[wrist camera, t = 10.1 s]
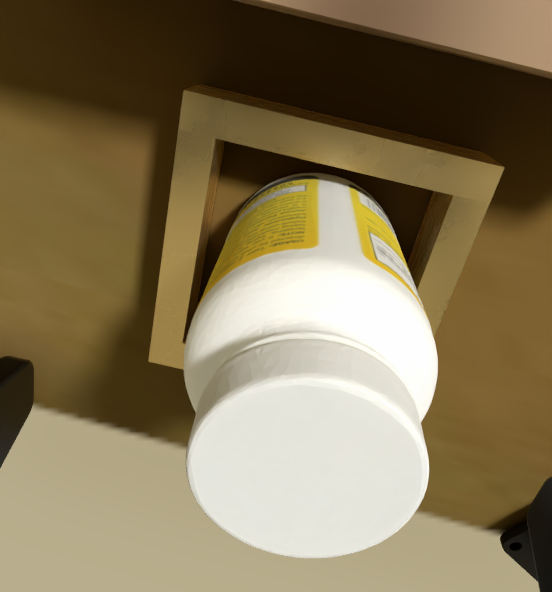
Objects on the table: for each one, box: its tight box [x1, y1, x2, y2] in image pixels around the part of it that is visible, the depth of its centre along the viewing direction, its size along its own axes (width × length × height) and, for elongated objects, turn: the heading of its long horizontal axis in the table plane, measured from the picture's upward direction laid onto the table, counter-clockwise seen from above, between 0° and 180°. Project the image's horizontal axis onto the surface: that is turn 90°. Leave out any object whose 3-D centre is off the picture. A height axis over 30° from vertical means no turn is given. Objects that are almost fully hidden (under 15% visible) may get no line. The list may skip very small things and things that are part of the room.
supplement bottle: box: [184, 173, 438, 558], centre depth 13 cm, size 5×5×10 cm
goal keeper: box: [148, 84, 505, 370], centre depth 16 cm, size 8×8×2 cm
